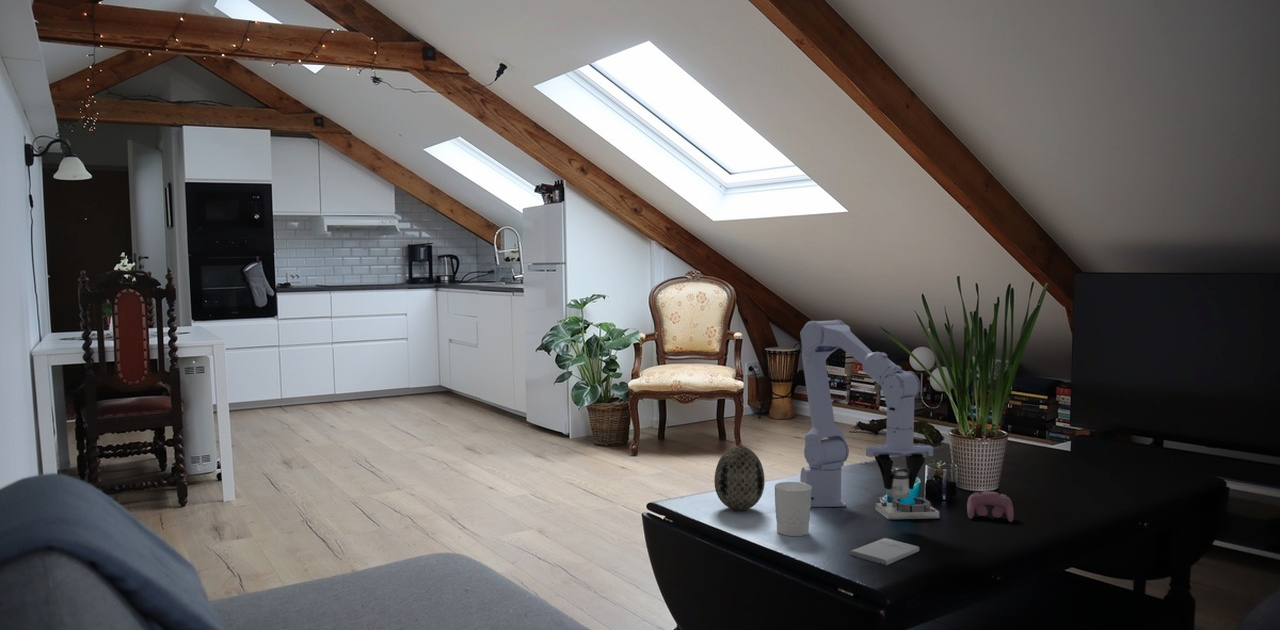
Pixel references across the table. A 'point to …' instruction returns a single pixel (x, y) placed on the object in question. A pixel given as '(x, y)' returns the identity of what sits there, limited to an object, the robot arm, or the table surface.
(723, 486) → the decorative egg
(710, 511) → the table surface
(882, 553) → the external hard drive
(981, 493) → the video game controller
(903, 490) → the lens
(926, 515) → the white display stand
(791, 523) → the white cup
